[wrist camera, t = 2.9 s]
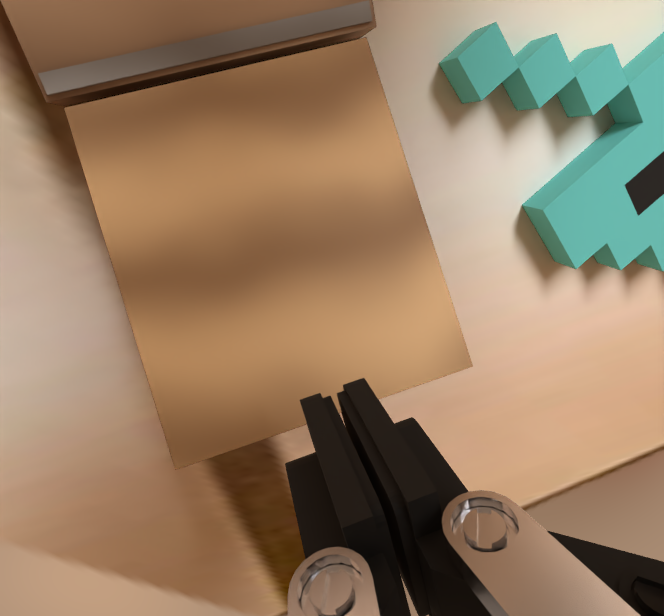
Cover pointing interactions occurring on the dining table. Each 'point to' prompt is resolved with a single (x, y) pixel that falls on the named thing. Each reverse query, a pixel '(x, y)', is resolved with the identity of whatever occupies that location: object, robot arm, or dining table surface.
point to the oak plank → (266, 244)
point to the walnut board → (167, 38)
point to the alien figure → (600, 157)
